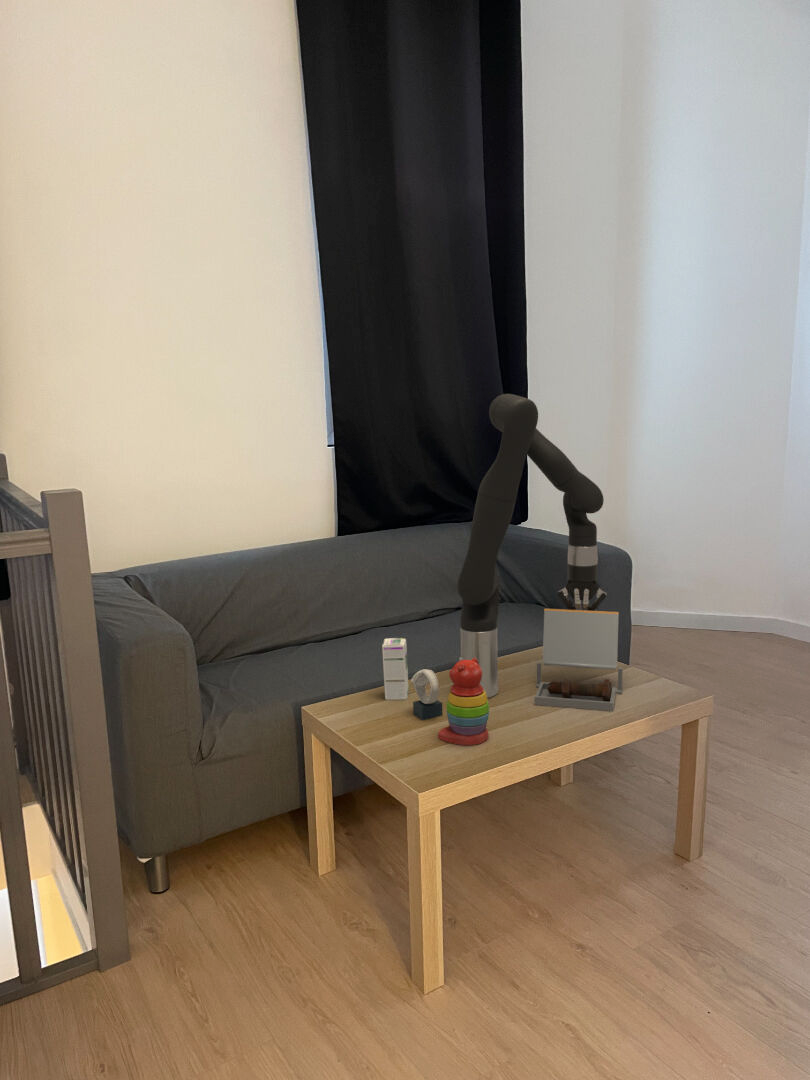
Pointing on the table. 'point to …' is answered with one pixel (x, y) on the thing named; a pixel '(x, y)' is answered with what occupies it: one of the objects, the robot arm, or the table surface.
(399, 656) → the syrup box
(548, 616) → the lid
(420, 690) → the watch
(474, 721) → the stacking bear
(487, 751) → the table surface
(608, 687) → the bolt
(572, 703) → the housing
